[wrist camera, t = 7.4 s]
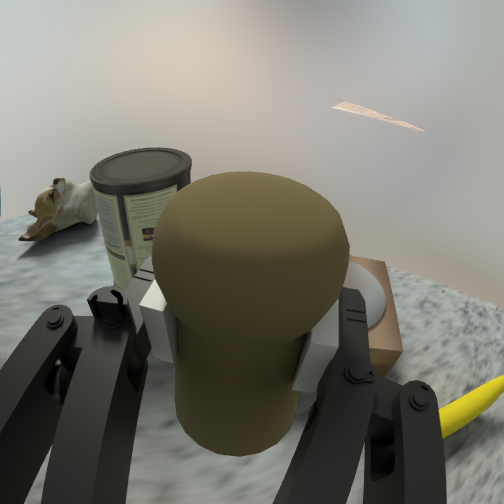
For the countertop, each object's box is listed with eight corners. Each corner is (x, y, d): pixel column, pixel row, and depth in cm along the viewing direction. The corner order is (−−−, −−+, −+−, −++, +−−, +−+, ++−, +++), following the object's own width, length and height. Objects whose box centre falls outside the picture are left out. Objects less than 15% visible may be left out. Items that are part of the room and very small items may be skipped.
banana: (496, 406, 21) (531, 373, 18) (353, 479, 18) (388, 459, 14) (485, 387, 24) (518, 352, 20) (343, 450, 20) (374, 422, 16)
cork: (304, 451, 12) (427, 277, 5) (172, 455, 11) (86, 274, 4) (287, 350, 17) (336, 158, 10) (178, 350, 16) (155, 149, 9)
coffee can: (157, 239, 42) (148, 141, 33) (212, 270, 37) (213, 158, 29) (98, 276, 35) (72, 169, 26) (150, 318, 30) (126, 195, 22)
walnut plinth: (250, 370, 26) (256, 327, 23) (270, 284, 36) (277, 240, 32) (376, 387, 25) (404, 349, 21) (368, 301, 35) (385, 259, 31)
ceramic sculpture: (96, 179, 37) (4, 208, 32) (109, 232, 42) (24, 257, 37) (97, 157, 44) (19, 181, 39) (107, 202, 50) (34, 224, 44)
